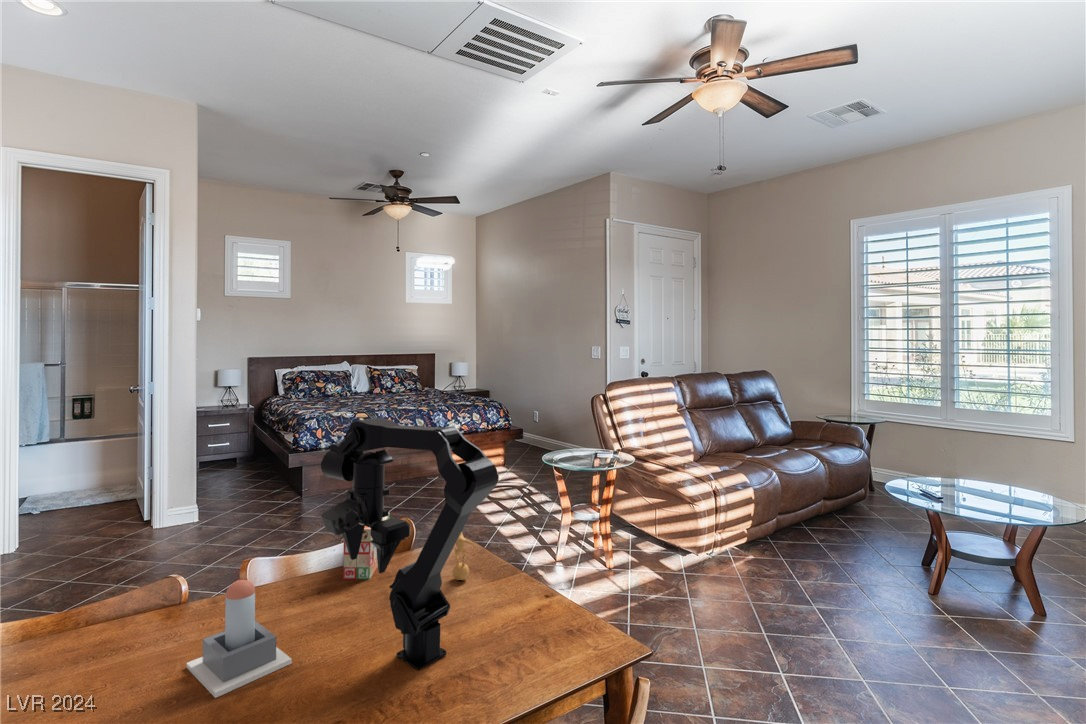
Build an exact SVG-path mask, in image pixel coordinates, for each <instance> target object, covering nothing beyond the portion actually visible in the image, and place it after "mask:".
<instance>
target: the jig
mask: <svg viewBox="0 0 1086 724" xmlns="http://www.w3.org/2000/svg"><path fill="white" fill-rule="evenodd" d="M292 662H293V661H292V658H291V657H290V655H289V656H288V654H287V653H285V652H284V651H282V650H281V649H280V648H279V647H277V635H275V634H274V633H273V632H271V631H269V630H268V629H267V628H265V626H263V625H262V624H261V623H259V622H258V621H256V620H255V642H252V643H250V644H247V645H245V646H242V647H240V648H237V649H235V650H232V651H230V652H228V651H227V650H225V630H224V631H221V632H218V633H216V634H213V635H210V636H207V637H204V638H203V639H202V656H200V657H198V658H195V659H193V660H190V661H188V662H186V668H187V670H188V671H189V672H190V673H191V674H192V676H194V677H195V679H197V680H198V681H199V683H201V684H202V686H203V687H205V689H206V690H207V691H208V692H209V693H210V694H211V695H212V696H213V697H214V698H215V699H216V698H218V697H221V696H223V695H226V694H227V693H229V692H231V691H235V690H236V689H239V688H240V687H244V686H245V685H247V684H249V683H252V682H253V681H256V680H258V679H260V678H262V677H265V676H267V675H270V674H272V673H273V672H277V671H278V670H281V669H282V668H284V667H287V666H289V665H291V664H292Z"/></svg>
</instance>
